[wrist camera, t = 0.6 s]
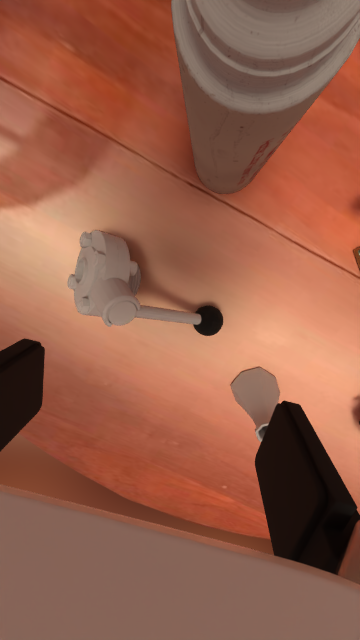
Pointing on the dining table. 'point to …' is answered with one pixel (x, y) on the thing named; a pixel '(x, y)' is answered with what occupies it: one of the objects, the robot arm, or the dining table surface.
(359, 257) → the bracket
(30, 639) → the robot arm
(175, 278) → the dining table surface
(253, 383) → the flask
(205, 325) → the mechanical valve
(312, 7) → the thermos bottle
